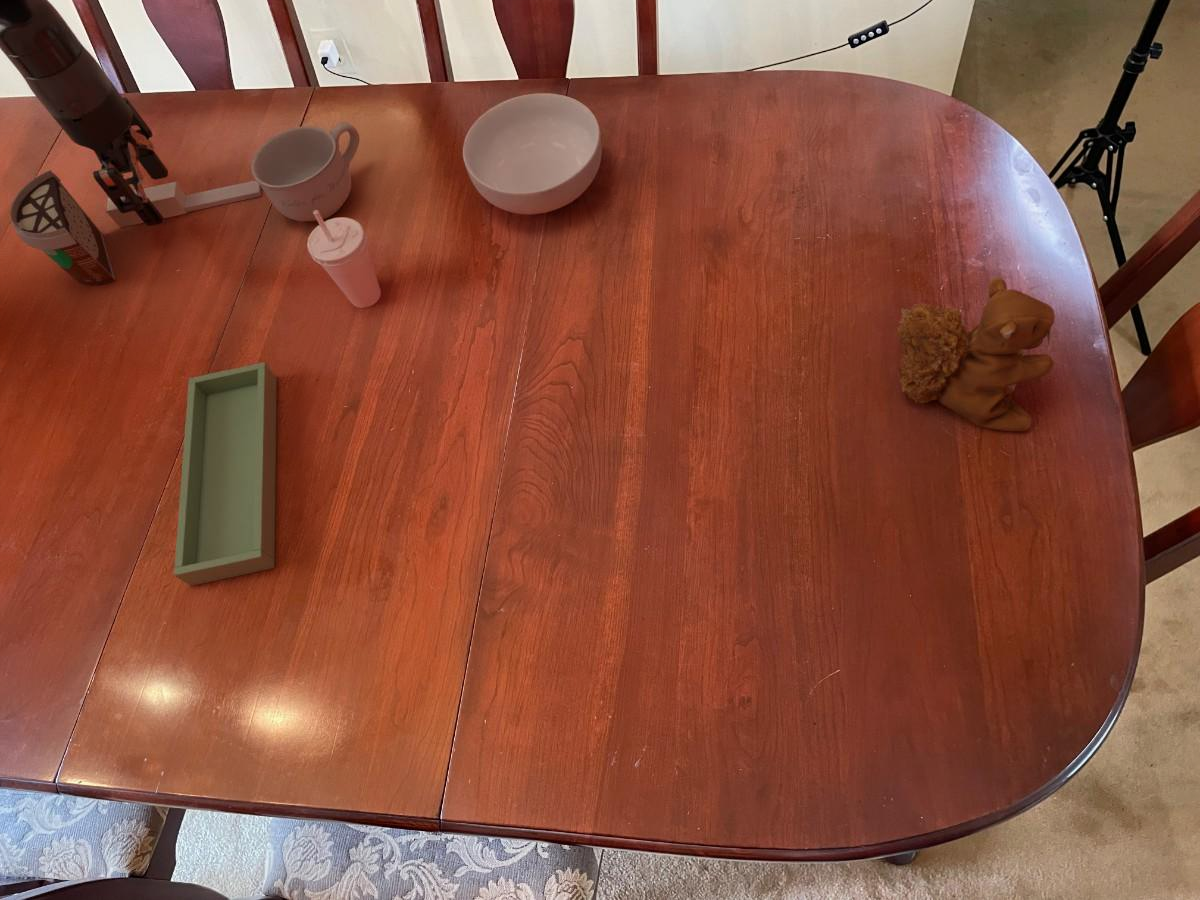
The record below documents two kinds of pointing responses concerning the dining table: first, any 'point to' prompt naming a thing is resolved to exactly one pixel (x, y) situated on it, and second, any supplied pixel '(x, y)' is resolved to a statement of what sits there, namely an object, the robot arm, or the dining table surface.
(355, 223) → the smoothie
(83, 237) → the food container
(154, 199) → the grey block with handle
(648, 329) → the dining table surface
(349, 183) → the teacup
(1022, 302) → the stuffed squirrel
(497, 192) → the cereal bowl
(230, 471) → the tray
